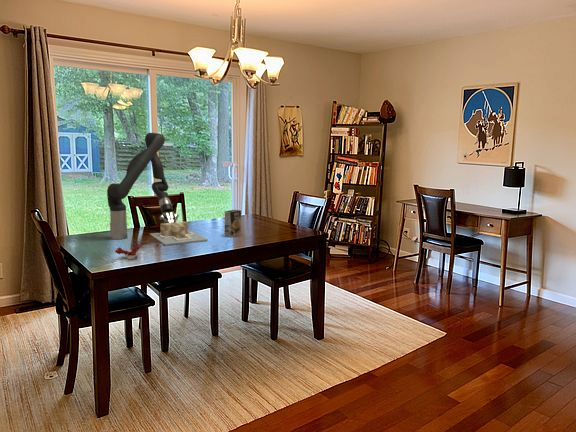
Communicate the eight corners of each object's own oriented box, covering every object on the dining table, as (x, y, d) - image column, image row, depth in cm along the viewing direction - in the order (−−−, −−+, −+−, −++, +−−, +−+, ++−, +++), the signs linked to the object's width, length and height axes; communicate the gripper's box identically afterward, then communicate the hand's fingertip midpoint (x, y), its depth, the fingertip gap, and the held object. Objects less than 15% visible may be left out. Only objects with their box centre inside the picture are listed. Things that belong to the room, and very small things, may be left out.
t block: (168, 239, 270) (167, 227, 269) (160, 234, 282) (160, 223, 281) (193, 236, 278) (193, 225, 277) (185, 232, 291) (185, 221, 290)
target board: (164, 245, 258) (164, 242, 258) (149, 235, 285) (149, 232, 285) (207, 241, 272) (207, 237, 272) (189, 231, 299) (189, 228, 298)
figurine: (123, 263, 223) (122, 250, 222) (110, 259, 230) (110, 246, 229) (149, 257, 234) (149, 244, 233) (136, 253, 241) (136, 241, 240)
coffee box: (231, 237, 283) (231, 212, 280) (224, 235, 287) (224, 210, 284) (241, 235, 290) (241, 210, 287) (234, 233, 294) (234, 209, 291)
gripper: (156, 203, 288) (163, 225, 280) (177, 202, 295) (184, 223, 287) (154, 210, 294) (161, 232, 286) (174, 209, 301) (181, 230, 293)
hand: (172, 228), depth 286 cm, fingers closed
